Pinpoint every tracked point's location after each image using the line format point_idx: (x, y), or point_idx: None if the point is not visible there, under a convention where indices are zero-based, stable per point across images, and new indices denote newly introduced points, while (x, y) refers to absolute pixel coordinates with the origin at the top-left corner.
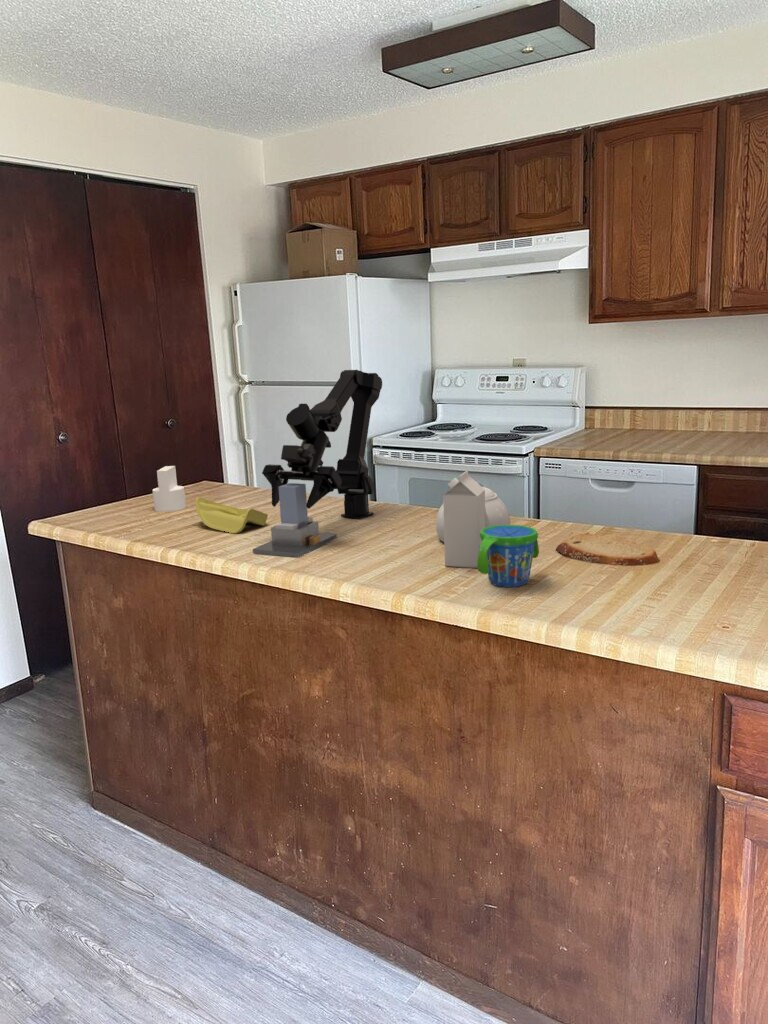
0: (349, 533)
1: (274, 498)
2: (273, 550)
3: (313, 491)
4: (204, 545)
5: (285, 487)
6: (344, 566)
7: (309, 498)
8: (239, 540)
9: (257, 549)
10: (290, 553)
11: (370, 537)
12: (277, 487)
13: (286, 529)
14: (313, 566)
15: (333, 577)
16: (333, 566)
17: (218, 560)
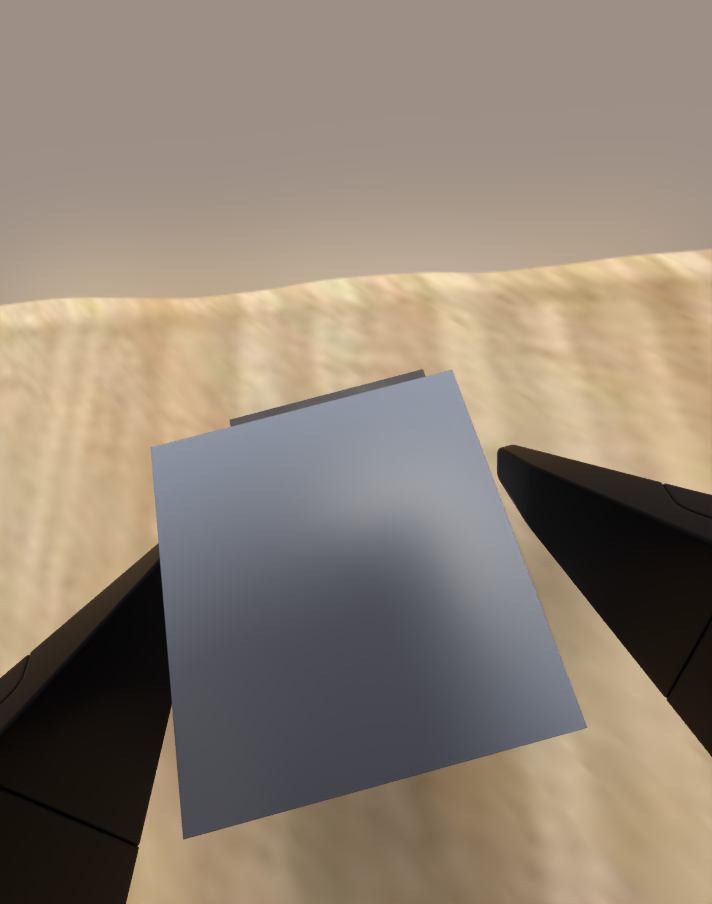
0: (293, 899)
1: (533, 466)
2: (339, 397)
3: (27, 671)
4: (681, 355)
5: (328, 403)
6: (35, 433)
7: (128, 585)
8: (646, 476)
9: (404, 376)
10: (264, 413)
11: (139, 878)
12: (686, 568)
13: None
14: (129, 383)
15: (16, 341)
16: (69, 415)
17: (451, 274)
